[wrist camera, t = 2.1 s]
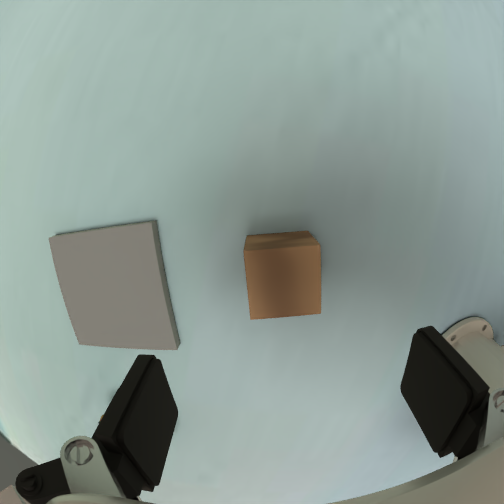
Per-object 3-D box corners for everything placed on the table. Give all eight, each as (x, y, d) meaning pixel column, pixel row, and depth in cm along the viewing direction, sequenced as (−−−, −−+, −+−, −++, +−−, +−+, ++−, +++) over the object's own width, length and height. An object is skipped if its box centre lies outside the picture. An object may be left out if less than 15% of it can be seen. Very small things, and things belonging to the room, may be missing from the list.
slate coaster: (156, 220, 23) (151, 222, 22) (180, 343, 26) (177, 349, 25) (55, 235, 23) (48, 237, 22) (84, 338, 27) (79, 344, 25)
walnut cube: (307, 230, 23) (320, 244, 18) (309, 287, 24) (320, 313, 19) (246, 235, 23) (243, 251, 18) (252, 292, 24) (250, 319, 20)
